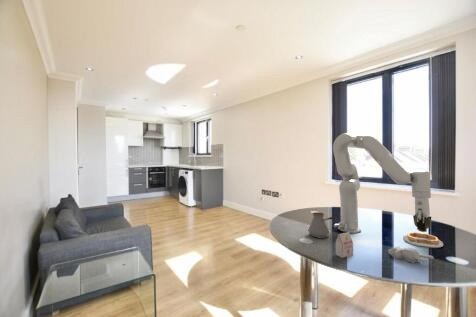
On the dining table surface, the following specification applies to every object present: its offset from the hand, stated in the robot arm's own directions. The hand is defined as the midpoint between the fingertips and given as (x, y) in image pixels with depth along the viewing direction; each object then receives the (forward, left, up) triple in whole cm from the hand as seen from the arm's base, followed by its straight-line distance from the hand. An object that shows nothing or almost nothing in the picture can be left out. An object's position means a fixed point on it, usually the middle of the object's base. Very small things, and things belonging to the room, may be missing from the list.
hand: (422, 228), depth 116 cm
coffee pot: (-45, +17, -7) cm, 49 cm away
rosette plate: (0, 0, -7) cm, 7 cm away
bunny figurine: (-26, -15, -8) cm, 31 cm away
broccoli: (0, 0, -2) cm, 2 cm away
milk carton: (-49, -4, -7) cm, 50 cm away
